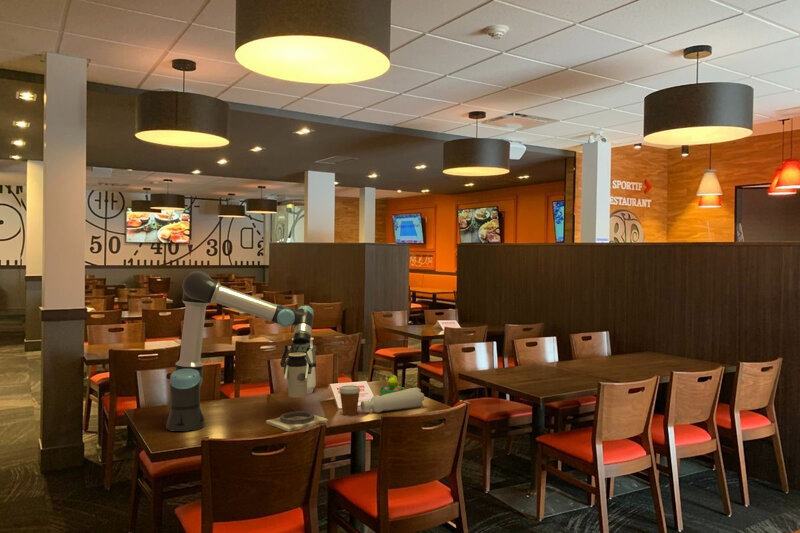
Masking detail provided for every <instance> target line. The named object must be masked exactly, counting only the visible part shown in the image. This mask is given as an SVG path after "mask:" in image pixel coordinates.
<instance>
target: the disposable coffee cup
mask: <svg viewBox="0 0 800 533" xmlns="http://www.w3.org/2000/svg"><path fill="white" fill-rule="evenodd" d="M338 392H339V394H340V402H341V409H342V410H341V411H342V415H343V414H344V415H343V416H346V415H352V416H356V415H357V414H358V406H359V399H360V398H359V397H360V392H361V388H360V386H358V385H353V384H351V385H349V384H348V385H342V386H340V388H339V390H338ZM355 414H356V415H355Z"/></svg>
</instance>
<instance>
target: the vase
mask: <svg viewBox="0 0 800 533" xmlns="http://www.w3.org/2000/svg"><path fill="white" fill-rule="evenodd" d="M293 338H294V337H293ZM293 338H291V340H292V341H293ZM314 339H315V338H314V337H312V336H311V339H310V346H314V342H313V341H314ZM291 350H292V349H291ZM292 351H293V350H292ZM292 351H291V352H292ZM307 354H308V356H309V359H310V361H311V363H313V357H312V351H311V349H310V350H309V351H308V352H307ZM305 359H306V358H305ZM306 361H307V360H306ZM307 365H308V363H307ZM316 378H317V377H316V367H312V371H311V374H309V375H308V382H307V395H310V394H312V393H314V388H315V387H316V385H317V382H316Z"/></svg>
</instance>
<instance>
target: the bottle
mask: <svg viewBox="0 0 800 533" xmlns="http://www.w3.org/2000/svg"><path fill="white" fill-rule="evenodd" d="M421 391H422V389H421V388H419V387H412V388H411V387H410V388H407V389H404V390H402V391H398V392H393V393H389V394H385V395H382V396H381V395H378V394H376V395H373V396H372V397H371V399H370V400H369V399H368V400H362V401H360V409H361V411H362V412H367V411H371V410H372V412H373V413H378V414H379V413H381V412H383V411H385V412H386V411H387V412H388V411H389V412H390V411H395V410H402V409H403V410H404V409H405V410H406V409H414V408H419V407H421V406H422V405H424V404H423V401H425V394H424V393H423V392H421Z"/></svg>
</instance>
